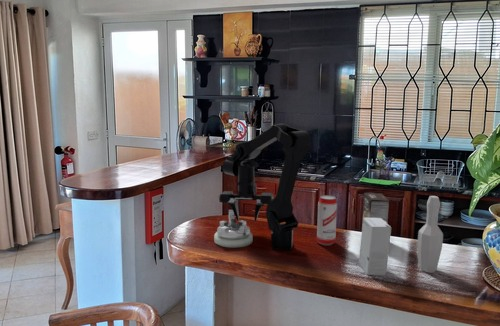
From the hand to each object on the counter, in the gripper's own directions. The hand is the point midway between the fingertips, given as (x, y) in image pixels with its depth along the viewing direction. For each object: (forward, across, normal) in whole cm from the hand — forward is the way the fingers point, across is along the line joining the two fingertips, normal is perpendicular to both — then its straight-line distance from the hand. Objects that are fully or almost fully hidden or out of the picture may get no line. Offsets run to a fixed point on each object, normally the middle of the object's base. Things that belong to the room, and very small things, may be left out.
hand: (246, 220), depth 167 cm
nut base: (+4, +3, +10) cm, 11 cm away
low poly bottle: (+6, -58, +21) cm, 62 cm away
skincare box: (+6, -42, +25) cm, 49 cm away
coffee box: (+6, -44, 0) cm, 45 cm away
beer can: (+5, -28, +5) cm, 29 cm away
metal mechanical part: (+2, +4, +5) cm, 7 cm away
